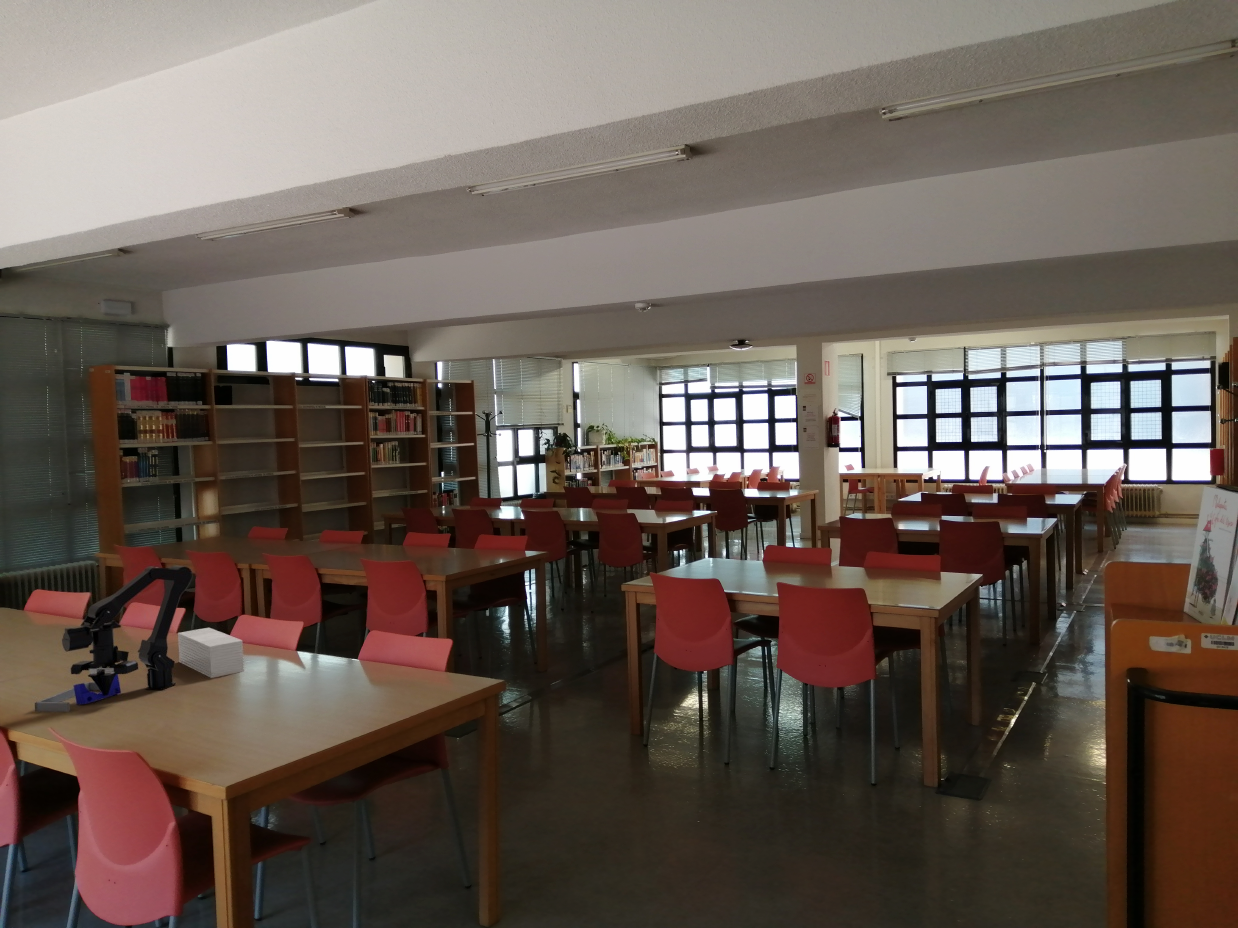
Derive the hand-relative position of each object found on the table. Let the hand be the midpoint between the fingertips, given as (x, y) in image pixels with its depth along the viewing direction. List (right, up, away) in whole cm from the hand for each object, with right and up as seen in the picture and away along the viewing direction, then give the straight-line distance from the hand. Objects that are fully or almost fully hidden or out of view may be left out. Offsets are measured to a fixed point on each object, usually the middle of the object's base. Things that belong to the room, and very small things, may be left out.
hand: (105, 695), depth 268 cm
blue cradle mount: (-2, -2, +1) cm, 3 cm away
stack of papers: (+15, 0, +37) cm, 40 cm away
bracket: (-9, -2, +2) cm, 9 cm away
